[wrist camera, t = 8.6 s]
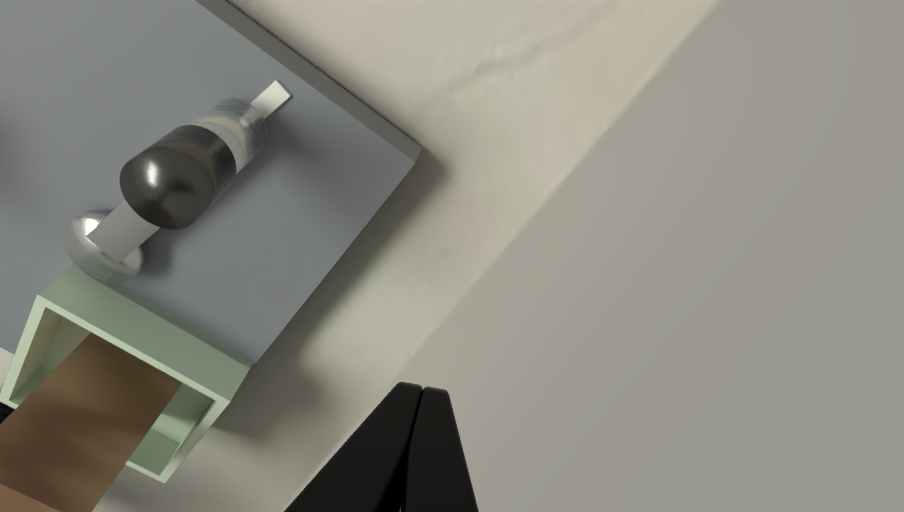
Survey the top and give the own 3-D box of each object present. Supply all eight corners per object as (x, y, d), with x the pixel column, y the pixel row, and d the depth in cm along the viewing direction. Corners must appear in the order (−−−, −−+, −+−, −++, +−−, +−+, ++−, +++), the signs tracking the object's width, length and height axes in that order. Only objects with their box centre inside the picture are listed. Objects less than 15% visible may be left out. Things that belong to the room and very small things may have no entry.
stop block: (192, 368, 24) (83, 522, 19) (161, 413, 26) (54, 563, 21) (104, 318, 23) (-40, 465, 18) (79, 369, 26) (-57, 514, 20)
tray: (188, 444, 28) (164, 483, 26) (35, 364, 26) (-3, 400, 25) (253, 361, 24) (230, 401, 22) (78, 259, 22) (37, 294, 21)
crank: (122, 284, 22) (33, 371, 19) (59, 233, 21) (-48, 314, 17) (297, 141, 18) (228, 216, 14) (229, 67, 17) (134, 126, 13)
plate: (201, 426, 29) (143, 521, 25) (-135, 246, 25) (-273, 323, 21) (422, 147, 19) (386, 228, 15) (-87, -233, 15) (-339, -273, 11)
